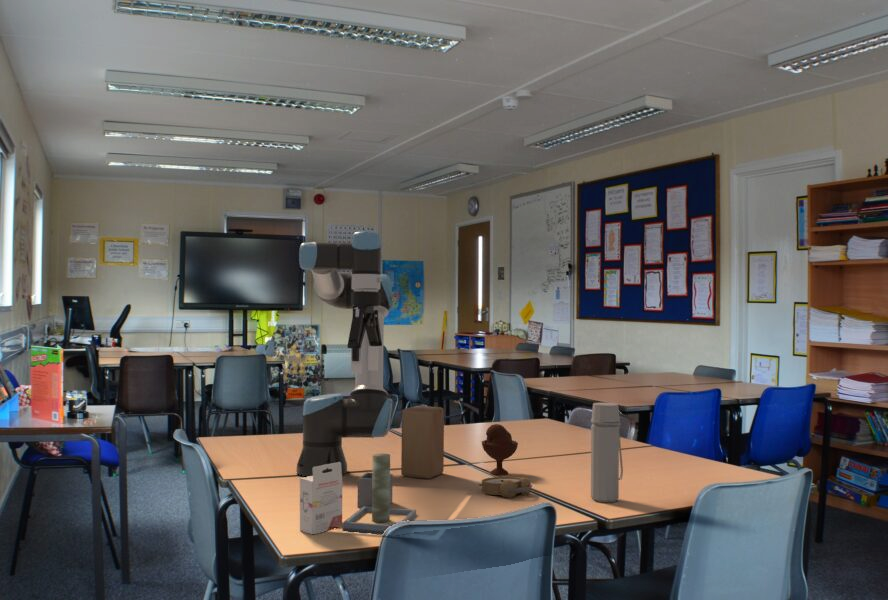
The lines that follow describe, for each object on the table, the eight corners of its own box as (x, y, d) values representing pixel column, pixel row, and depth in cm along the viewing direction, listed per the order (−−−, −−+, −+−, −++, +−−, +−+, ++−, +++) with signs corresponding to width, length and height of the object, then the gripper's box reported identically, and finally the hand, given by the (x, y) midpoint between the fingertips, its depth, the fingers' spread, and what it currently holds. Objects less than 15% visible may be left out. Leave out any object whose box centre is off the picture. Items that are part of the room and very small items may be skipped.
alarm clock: (502, 475, 208) (540, 474, 197) (504, 493, 207) (542, 493, 196) (472, 480, 201) (510, 480, 189) (474, 499, 200) (512, 500, 189)
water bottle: (601, 504, 187) (602, 406, 187) (584, 497, 194) (584, 402, 195) (631, 501, 191) (631, 404, 191) (612, 494, 198) (613, 401, 198)
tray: (342, 531, 162) (342, 522, 162) (363, 514, 175) (363, 506, 175) (399, 536, 159) (399, 526, 159) (416, 518, 173) (416, 510, 173)
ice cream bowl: (516, 478, 216) (516, 427, 217) (478, 476, 219) (479, 425, 219) (519, 470, 227) (519, 422, 227) (483, 468, 229) (484, 420, 229)
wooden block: (444, 473, 222) (445, 407, 222) (430, 480, 213) (430, 410, 213) (415, 470, 226) (415, 405, 227) (399, 476, 217) (400, 408, 218)
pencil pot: (357, 511, 178) (357, 478, 179) (366, 504, 185) (366, 472, 185) (384, 513, 177) (384, 479, 177) (392, 506, 184) (392, 473, 184)
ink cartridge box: (328, 522, 168) (329, 458, 169) (342, 527, 165) (343, 461, 165) (298, 530, 162) (299, 463, 162) (312, 535, 159) (313, 467, 159)
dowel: (369, 523, 166) (370, 456, 166) (375, 518, 170) (375, 453, 170) (386, 524, 165) (387, 457, 165) (391, 519, 169) (392, 453, 169)
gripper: (364, 289, 179) (363, 376, 179) (393, 292, 204) (392, 369, 203) (335, 289, 181) (334, 375, 180) (367, 292, 205) (366, 368, 205)
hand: (365, 372), depth 192 cm, fingers open, 13 cm apart
